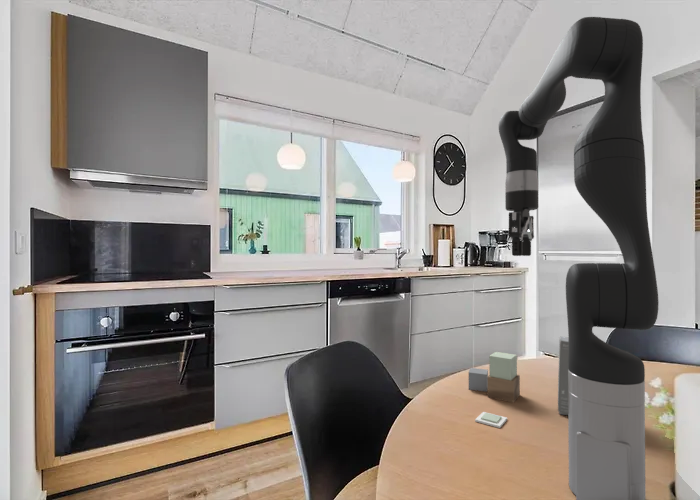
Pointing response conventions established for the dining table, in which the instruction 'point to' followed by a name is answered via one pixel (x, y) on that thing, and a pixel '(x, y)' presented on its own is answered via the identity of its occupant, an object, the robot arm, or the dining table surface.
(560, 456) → the dining table surface
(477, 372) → the slate block
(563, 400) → the skincare box
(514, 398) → the walnut block
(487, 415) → the tile
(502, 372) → the sage block
